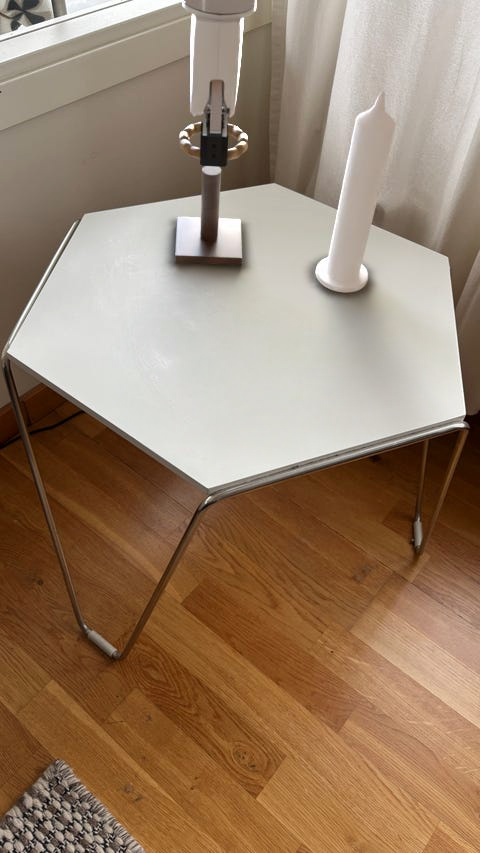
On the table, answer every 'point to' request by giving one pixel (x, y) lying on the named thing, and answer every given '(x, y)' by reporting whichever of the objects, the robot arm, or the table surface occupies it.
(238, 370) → the table surface
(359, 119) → the candle
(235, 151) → the ring
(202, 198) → the post
